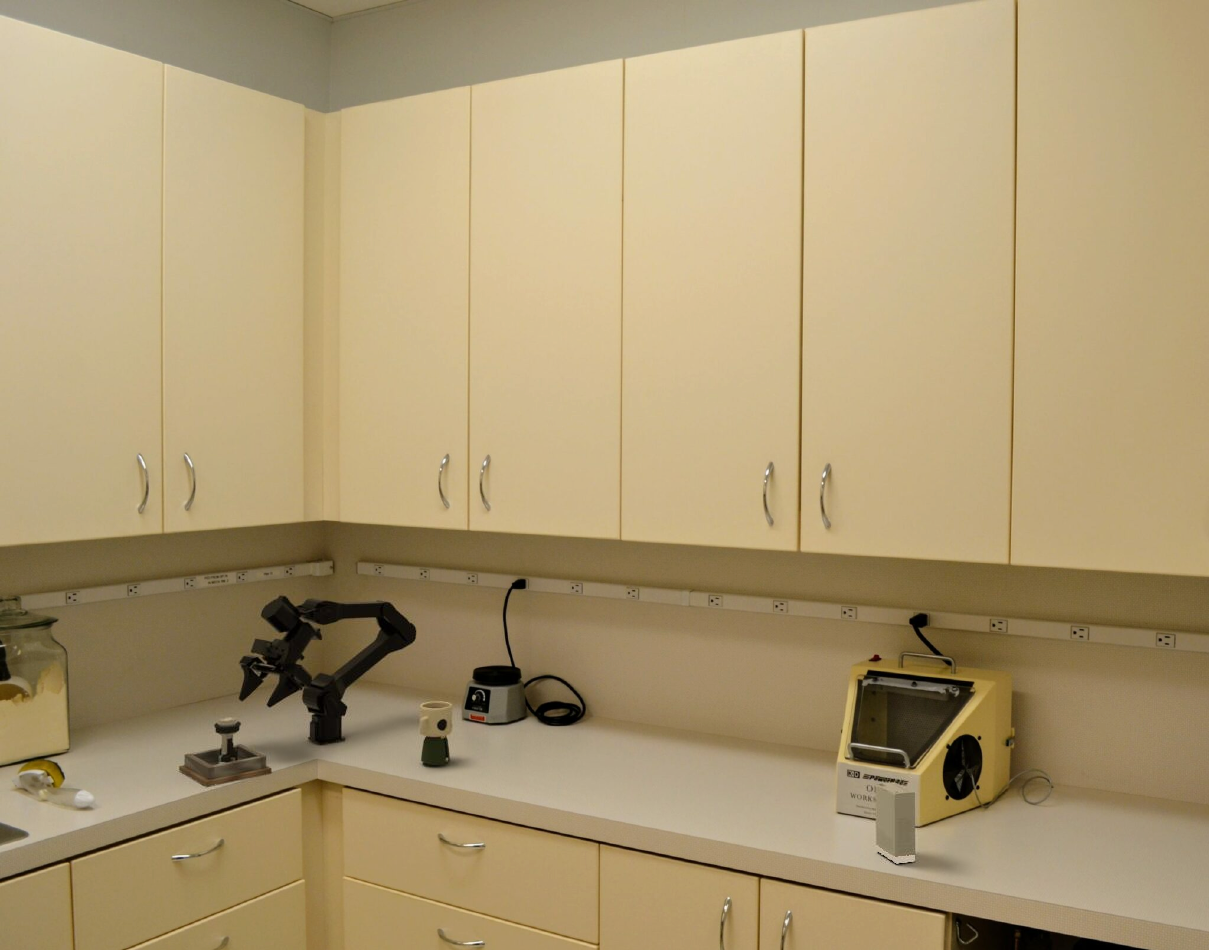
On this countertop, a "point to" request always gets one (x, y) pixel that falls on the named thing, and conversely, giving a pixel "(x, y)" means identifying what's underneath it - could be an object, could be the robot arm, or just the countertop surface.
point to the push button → (227, 738)
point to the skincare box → (895, 819)
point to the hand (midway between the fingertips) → (254, 703)
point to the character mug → (435, 731)
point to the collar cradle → (224, 766)
